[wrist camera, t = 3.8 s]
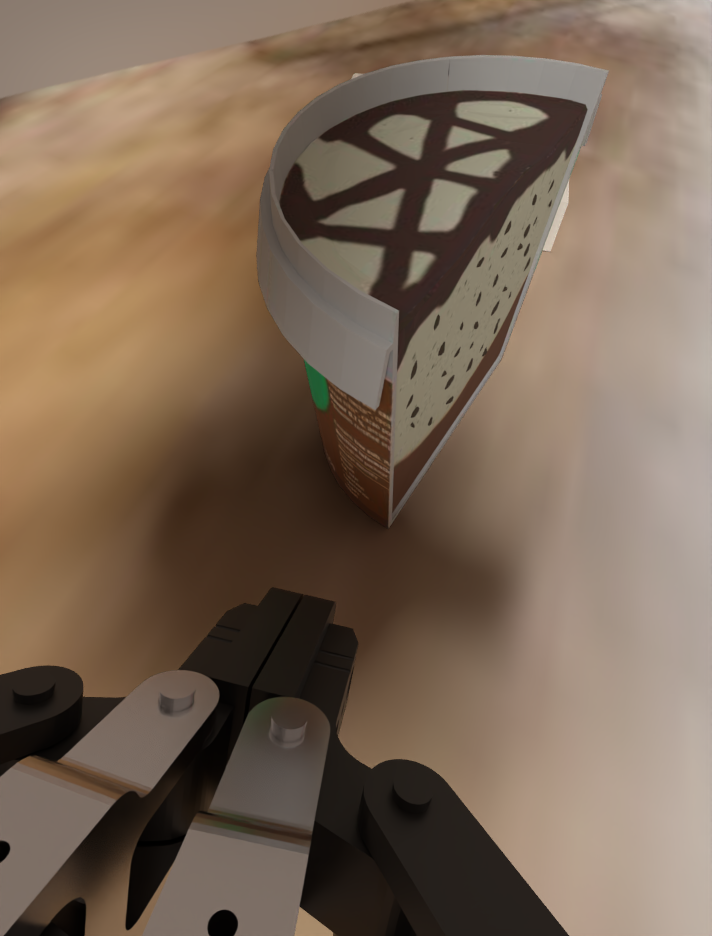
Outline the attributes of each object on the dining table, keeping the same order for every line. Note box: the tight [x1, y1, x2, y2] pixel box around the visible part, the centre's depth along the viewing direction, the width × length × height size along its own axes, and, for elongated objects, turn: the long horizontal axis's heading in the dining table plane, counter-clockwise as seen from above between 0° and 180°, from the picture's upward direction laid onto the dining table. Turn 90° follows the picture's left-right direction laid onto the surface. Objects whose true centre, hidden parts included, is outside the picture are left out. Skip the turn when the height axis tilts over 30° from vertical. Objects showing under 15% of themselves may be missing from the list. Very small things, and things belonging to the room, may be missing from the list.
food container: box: [256, 55, 609, 529], centre depth 16 cm, size 12×6×10 cm, turn 147°
